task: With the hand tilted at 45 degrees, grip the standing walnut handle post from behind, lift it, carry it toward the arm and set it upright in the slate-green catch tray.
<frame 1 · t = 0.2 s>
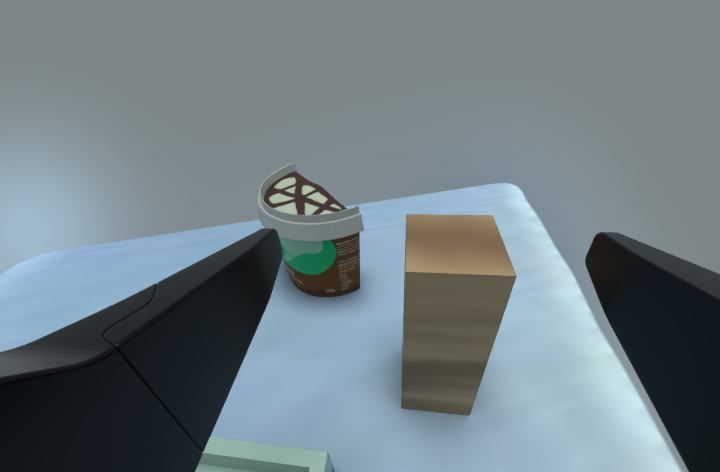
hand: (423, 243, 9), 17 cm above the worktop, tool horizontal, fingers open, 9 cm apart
walnut post: (432, 379, 22), on the worktop
food container: (310, 277, 32), on the worktop
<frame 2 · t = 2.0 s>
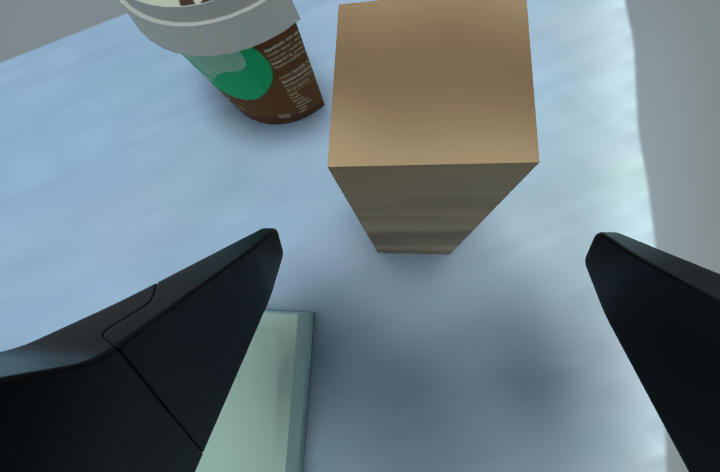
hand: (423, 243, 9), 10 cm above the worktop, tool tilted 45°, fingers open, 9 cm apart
walnut post: (413, 218, 20), on the worktop
food container: (258, 95, 24), on the worktop
catch tray: (218, 402, 19), on the worktop
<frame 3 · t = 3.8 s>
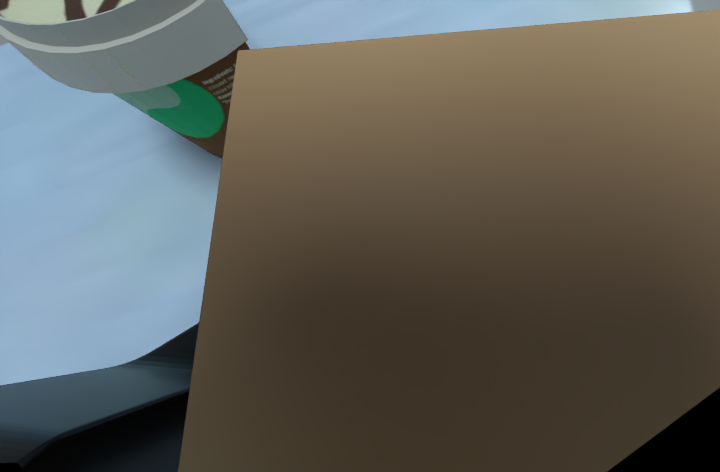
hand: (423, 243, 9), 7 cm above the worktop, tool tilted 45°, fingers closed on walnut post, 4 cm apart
walnut post: (415, 293, 15), on the worktop, touching gripper
food container: (222, 123, 19), on the worktop
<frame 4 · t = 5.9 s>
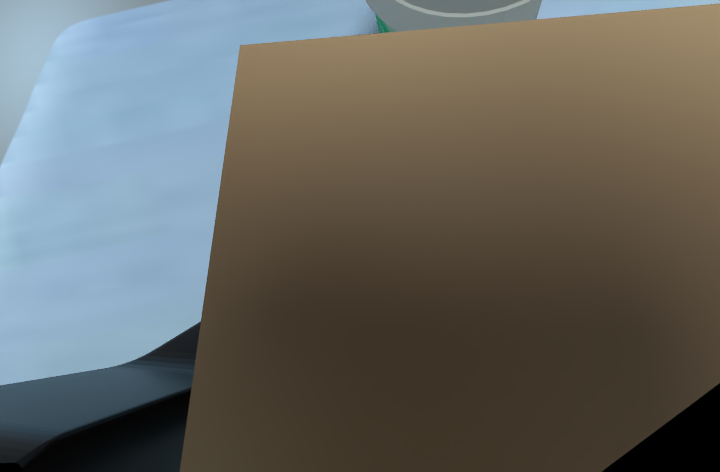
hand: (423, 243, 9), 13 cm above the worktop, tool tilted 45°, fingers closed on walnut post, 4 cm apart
walnut post: (416, 292, 15), point 7 cm above the worktop, touching gripper
food container: (413, 77, 25), on the worktop
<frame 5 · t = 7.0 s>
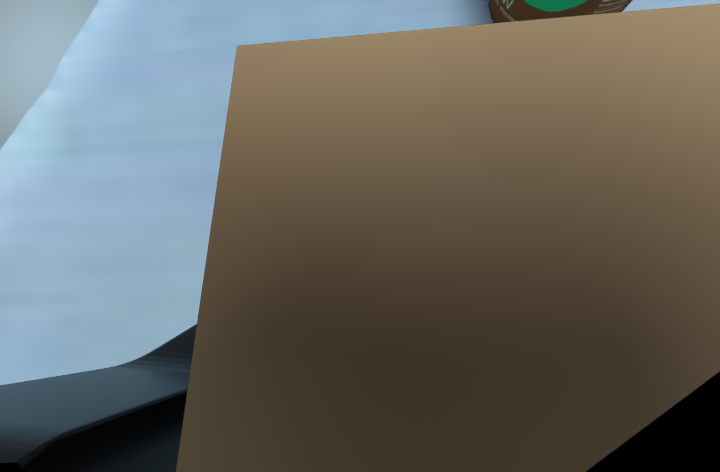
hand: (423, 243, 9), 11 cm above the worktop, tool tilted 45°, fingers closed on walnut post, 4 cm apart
walnut post: (415, 292, 15), point 5 cm above the worktop, touching gripper
food container: (517, 16, 23), on the worktop
when the fingers open (9 cm above the worktop, at t = 7.9 s): walnut post drops 2 cm, resting on catch tray.
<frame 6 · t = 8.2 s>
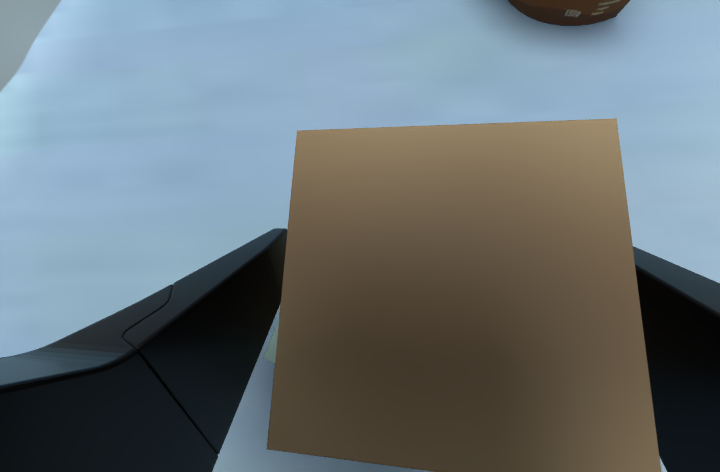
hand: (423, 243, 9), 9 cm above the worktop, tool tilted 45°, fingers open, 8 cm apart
walnut post: (415, 293, 17), point 1 cm above the worktop, touching catch tray
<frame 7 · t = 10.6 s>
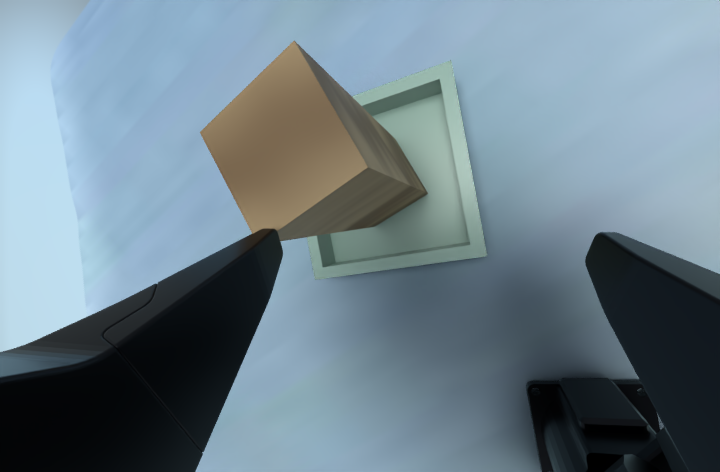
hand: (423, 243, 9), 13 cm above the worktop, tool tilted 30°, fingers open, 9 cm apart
walnut post: (384, 183, 22), point 1 cm above the worktop, touching catch tray
catch tray: (387, 185, 22), on the worktop
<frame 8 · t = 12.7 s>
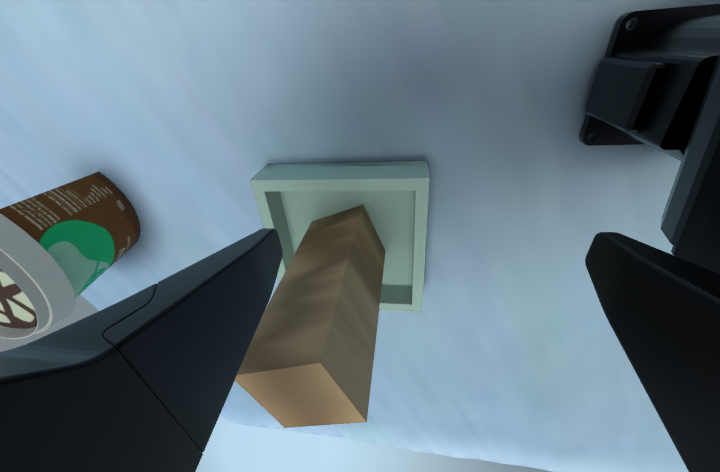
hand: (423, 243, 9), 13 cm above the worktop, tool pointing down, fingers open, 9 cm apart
walnut post: (349, 236, 24), point 1 cm above the worktop, touching catch tray
food container: (120, 226, 28), on the worktop
catch tray: (351, 231, 25), on the worktop
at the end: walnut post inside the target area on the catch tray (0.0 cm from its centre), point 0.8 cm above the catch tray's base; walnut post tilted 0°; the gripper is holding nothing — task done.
